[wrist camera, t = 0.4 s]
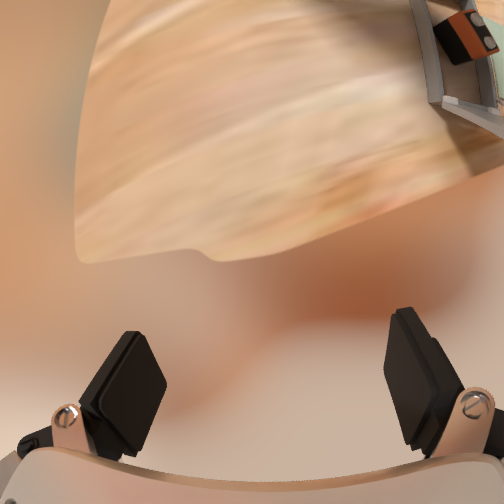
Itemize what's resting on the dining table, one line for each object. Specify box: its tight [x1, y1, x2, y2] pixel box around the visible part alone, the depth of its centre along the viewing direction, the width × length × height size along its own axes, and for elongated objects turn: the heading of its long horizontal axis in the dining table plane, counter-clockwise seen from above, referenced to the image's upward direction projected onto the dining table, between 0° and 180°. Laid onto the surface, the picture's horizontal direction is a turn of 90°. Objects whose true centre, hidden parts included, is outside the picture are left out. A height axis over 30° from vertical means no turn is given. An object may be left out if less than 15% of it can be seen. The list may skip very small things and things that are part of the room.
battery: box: [432, 9, 500, 65], centre depth 21 cm, size 4×7×10 cm, turn 33°
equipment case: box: [409, 0, 504, 116], centre depth 21 cm, size 23×12×11 cm, turn 5°
